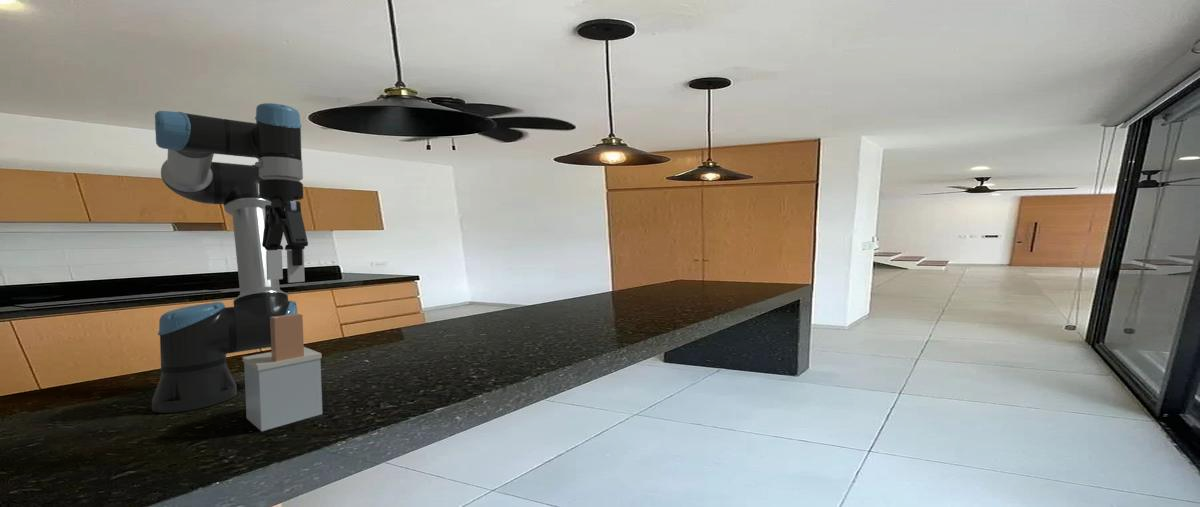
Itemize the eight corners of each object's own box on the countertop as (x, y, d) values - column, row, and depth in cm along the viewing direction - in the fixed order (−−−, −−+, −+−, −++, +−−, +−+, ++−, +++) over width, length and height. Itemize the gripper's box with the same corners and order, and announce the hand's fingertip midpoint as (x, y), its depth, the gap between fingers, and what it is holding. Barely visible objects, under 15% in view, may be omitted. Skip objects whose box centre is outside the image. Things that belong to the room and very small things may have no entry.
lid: (242, 361, 95) (240, 315, 94) (303, 350, 104) (301, 308, 103) (258, 370, 88) (255, 321, 87) (321, 357, 97) (320, 313, 96)
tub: (246, 418, 95) (244, 361, 95) (304, 403, 104) (302, 350, 103) (261, 431, 88) (259, 370, 88) (322, 413, 97) (320, 358, 97)
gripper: (242, 184, 97) (246, 279, 98) (279, 171, 81) (283, 285, 82) (282, 187, 103) (286, 277, 103) (324, 175, 87) (328, 281, 88)
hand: (285, 280), depth 93 cm, fingers open, 13 cm apart
